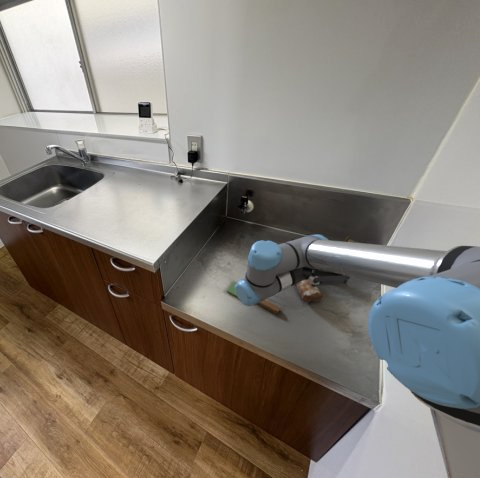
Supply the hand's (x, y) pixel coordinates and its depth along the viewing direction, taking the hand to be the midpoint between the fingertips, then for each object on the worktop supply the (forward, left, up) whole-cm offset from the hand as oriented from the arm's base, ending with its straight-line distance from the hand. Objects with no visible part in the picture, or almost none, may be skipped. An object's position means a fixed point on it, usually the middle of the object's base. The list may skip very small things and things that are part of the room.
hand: (335, 251), depth 80 cm
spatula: (+16, +20, -16) cm, 30 cm away
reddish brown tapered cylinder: (+6, +4, -16) cm, 18 cm away
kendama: (-2, -4, -16) cm, 17 cm away
